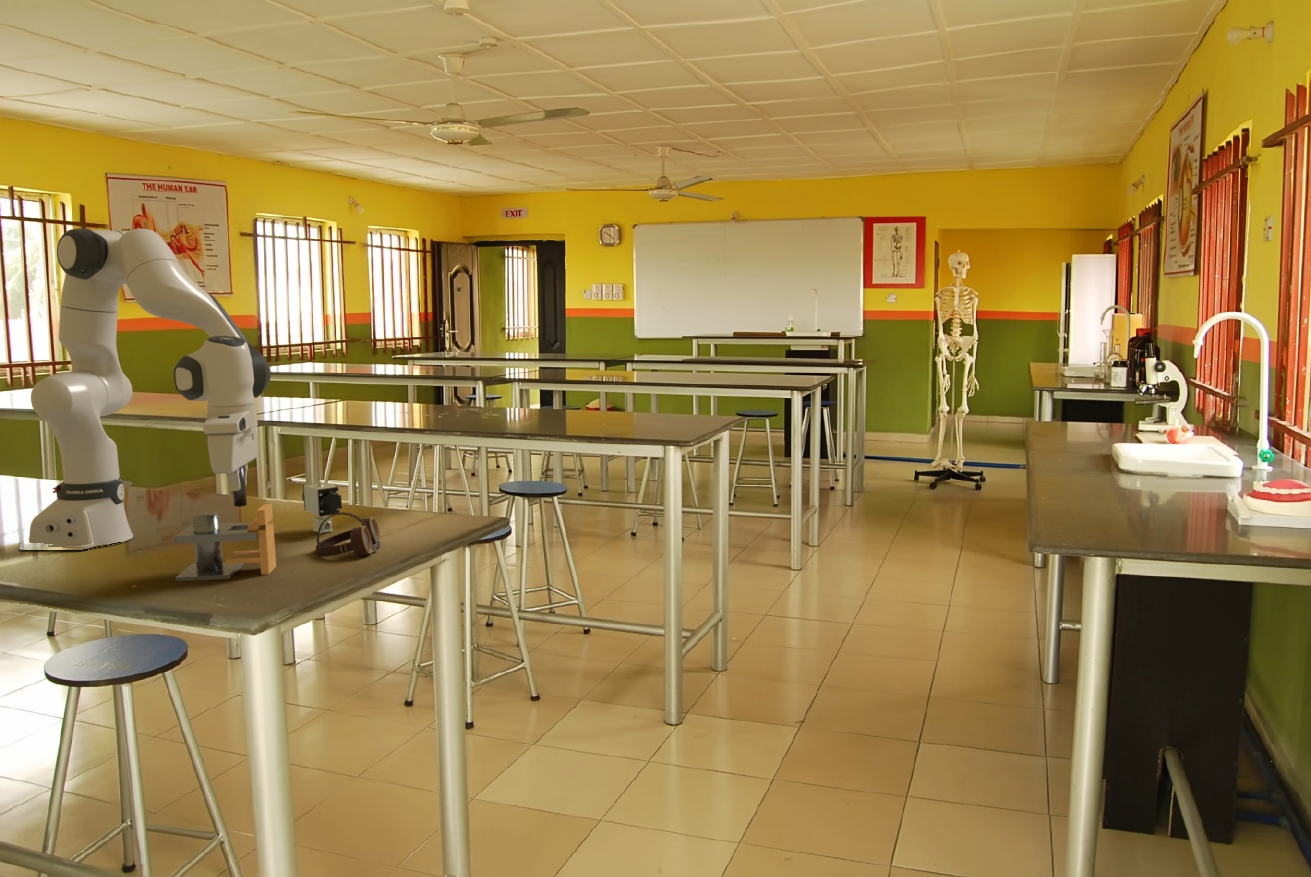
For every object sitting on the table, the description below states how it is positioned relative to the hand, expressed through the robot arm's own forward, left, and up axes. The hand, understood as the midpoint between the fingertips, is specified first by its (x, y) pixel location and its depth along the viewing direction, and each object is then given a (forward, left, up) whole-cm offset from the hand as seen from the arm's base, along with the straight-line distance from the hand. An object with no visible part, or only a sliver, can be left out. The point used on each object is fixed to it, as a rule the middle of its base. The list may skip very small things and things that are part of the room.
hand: (238, 488), depth 198 cm
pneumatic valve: (+9, +33, -17) cm, 38 cm away
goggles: (+18, +13, -17) cm, 28 cm away
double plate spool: (-4, 0, -17) cm, 17 cm away
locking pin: (0, 0, -3) cm, 3 cm away
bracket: (+1, 0, -17) cm, 17 cm away
